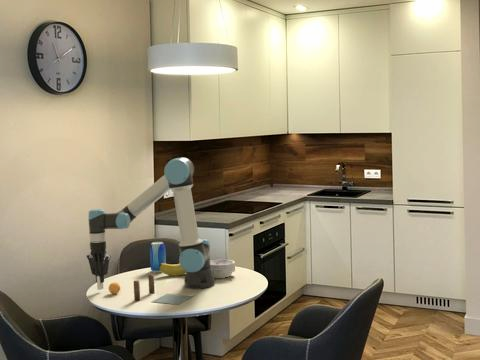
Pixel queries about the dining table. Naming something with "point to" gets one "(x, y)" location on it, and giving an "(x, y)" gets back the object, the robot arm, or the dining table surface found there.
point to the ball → (114, 288)
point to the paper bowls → (222, 268)
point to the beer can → (157, 256)
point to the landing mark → (172, 299)
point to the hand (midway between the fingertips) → (100, 289)
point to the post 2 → (151, 283)
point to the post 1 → (136, 291)
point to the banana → (172, 269)
